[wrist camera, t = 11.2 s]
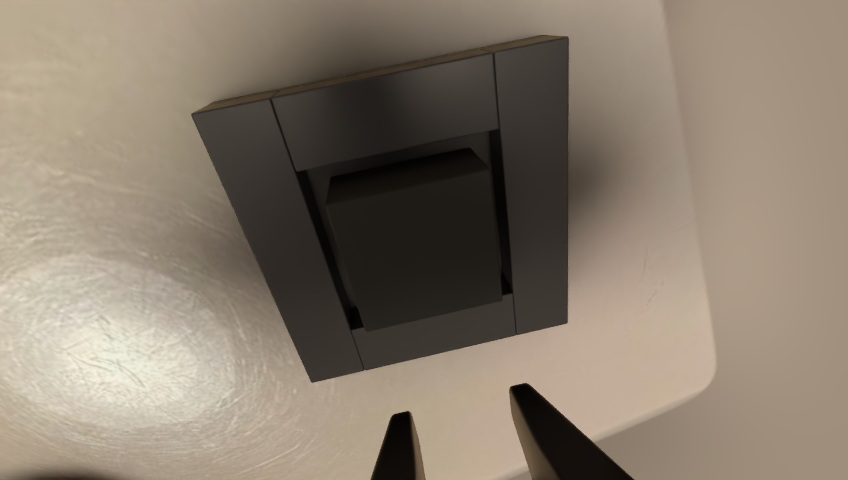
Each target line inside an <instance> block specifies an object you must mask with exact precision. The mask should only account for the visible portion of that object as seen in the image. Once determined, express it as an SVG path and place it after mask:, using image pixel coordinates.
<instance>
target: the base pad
mask: <svg viewBox="0 0 848 480" xmlns="http://www.w3.org/2000/svg"><path fill="white" fill-rule="evenodd" d="M568 63H569V38H568V37H567V36H548V35H540V36H536V37H531V38H526V39H521V40H516V41H511V42H506V43H501V44H496V45H491V46H487V47H482V48H477V49H472V50H467V51H462V52H457V53H452V54H447V55H443V56H438V57H433V58H428V59H423V60H418V61H413V62H408V63H403V64H399V65H394V66H389V67H384V68H379V69H374V70H369V71H364V72H359V73H354V74H350V75H345V76H340V77H335V78H330V79H325V80H320V81H315V82H310V83H306V84H301V85H296V86H291V87H286V88H281V89H276V90H271V91H266V92H262V93H257V94H252V95H247V96H242V97H237V98H232V99H227V100H222V101H218V102H213V103H211V104H209V105H207V106H205V107H203V108H202V109H200V110H198V111H196V112H194V113H192V114H191V115H192V118H193V120H194V122H195V125H196V127H197V129H198V131H199V134H200V136H201V138H202V140H203V142H204V145H205V147H206V149H207V151H208V154H209V156H210V158H211V160H212V162H213V165H214V167H215V169H216V171H217V174H218V176H219V178H220V180H221V182H222V185H223V187H224V189H225V191H226V194H227V196H228V198H229V200H230V202H231V205H232V207H233V209H234V211H235V214H236V216H237V218H238V220H239V223H240V225H241V227H242V229H243V231H244V234H245V236H246V238H247V240H248V243H249V245H250V247H251V249H252V251H253V254H254V256H255V258H256V260H257V263H258V265H259V267H260V269H261V271H262V274H263V276H264V278H265V280H266V283H267V285H268V287H269V289H270V292H271V294H272V296H273V298H274V300H275V303H276V305H277V307H278V309H279V312H280V314H281V316H282V318H283V320H284V323H285V325H286V327H287V329H288V332H289V334H290V336H291V338H292V340H293V343H294V345H295V347H296V349H297V352H298V354H299V356H300V358H301V360H302V363H303V365H304V367H305V369H306V372H307V374H308V376H309V378H310V381H311V382H312V383H313V382H317V381H322V380H326V379H330V378H335V377H339V376H343V375H347V374H352V373H356V372H360V371H364V369H365V370H370V369H374V368H378V367H382V366H387V365H391V364H395V363H400V362H404V361H408V360H412V359H417V358H421V357H425V356H430V355H434V354H438V353H442V352H447V351H451V350H455V349H460V348H464V347H468V346H472V345H477V344H481V343H485V342H490V341H494V340H498V339H502V338H507V337H511V336H515V335H516V334H517V335H519V334H524V333H528V332H532V331H536V330H541V329H545V328H549V327H554V326H558V325H562V324H566V323H568ZM465 148H471V149H472V150H473V151H474V152H475V153H476V154H477V156H478V157H479V158H480V159H481V160H482V161H483V162H484V163H485V165H486V166H487V167H488V168H489V169H490V171H491V180H492V191H493V201H494V212H495V222H496V233H497V244H498V254H499V265H500V275H501V286H502V296H503V300H502V301H501V302H496V303H492V304H488V305H483V306H479V307H475V308H470V309H466V310H461V311H457V312H453V313H448V314H444V315H440V316H435V317H431V318H426V319H422V320H418V321H413V322H409V323H405V324H400V325H396V326H391V327H387V328H383V329H378V330H374V331H370V332H366V331H365V329H364V326H363V323H362V320H361V317H360V314H359V311H358V307H357V304H356V301H355V298H354V295H353V292H352V289H351V286H350V283H349V280H348V276H347V273H346V270H345V267H344V264H343V261H342V258H341V255H340V252H339V249H338V245H337V242H336V239H335V236H334V233H333V230H332V227H331V224H330V221H329V218H328V214H327V211H326V208H325V203H326V198H327V193H328V188H329V182H330V178H331V177H334V176H338V175H343V174H348V173H352V172H357V171H362V170H367V169H371V168H376V167H381V166H385V165H390V164H395V163H399V162H404V161H409V160H414V159H418V158H423V157H428V156H432V155H437V154H442V153H447V152H451V151H456V150H461V149H465Z"/></svg>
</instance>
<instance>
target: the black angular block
mask: <svg viewBox="0 0 848 480" xmlns="http://www.w3.org/2000/svg"><path fill="white" fill-rule="evenodd" d="M325 208H326V211H327V214H328V218H329V221H330V224H331V227H332V230H333V233H334V236H335V239H336V242H337V245H338V249H339V252H340V255H341V258H342V261H343V264H344V267H345V270H346V273H347V276H348V280H349V283H350V286H351V289H352V292H353V295H354V298H355V301H356V304H357V307H358V311H359V314H360V317H361V320H362V323H363V326H364V329H365V331H366V332H370V331H374V330H378V329H383V328H387V327H391V326H396V325H400V324H405V323H409V322H413V321H418V320H422V319H426V318H431V317H435V316H440V315H444V314H448V313H453V312H457V311H461V310H466V309H470V308H475V307H479V306H483V305H488V304H492V303H496V302H501V301H502V300H503V296H502V286H501V275H500V265H499V254H498V244H497V233H496V222H495V212H494V201H493V191H492V180H491V171H490V169H489V168H488V167H487V166H486V165H485V163H484V162H483V161H482V160H481V159H480V158H479V157H478V156H477V154H476V153H475V152H474V151H473V150H472V149H471V148H465V149H461V150H456V151H451V152H447V153H442V154H437V155H432V156H428V157H423V158H418V159H414V160H409V161H404V162H399V163H395V164H390V165H385V166H381V167H376V168H371V169H367V170H362V171H357V172H352V173H348V174H343V175H338V176H334V177H331V178H330V182H329V188H328V193H327V198H326V203H325Z"/></svg>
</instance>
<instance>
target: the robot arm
mask: <svg viewBox="0 0 848 480" xmlns="http://www.w3.org/2000/svg"><path fill="white" fill-rule="evenodd" d="M509 394H510V404H511V413H512V417H513V421H514V424H515V427H516V430H517V433H518V437H519V440H520V443H521V446H522V449H523V452H524V455H525V458H526V461H527V464H528V467H529V470H530V473H531V476H532V479H533V480H634V479H633V478H632V477H631V476H630V475H628V474H627V473H626V472H625V471H624V470H623V469H622V468H621V467H620V466H618V465H617V464H616V463H615V462H614V461H613V460H612V459H611V458H610V457H609V456H607V455H606V454H605V453H604V452H603V451H602V450H601V449H600V448H599V447H598V446H596V445H595V444H594V443H593V442H592V441H591V440H590V439H589V438H588V437H587V436H586V435H584V434H583V433H582V432H581V431H580V430H579V429H578V428H577V427H576V426H575V425H573V424H572V423H571V422H570V421H569V420H568V419H567V418H566V417H565V416H564V415H562V414H561V413H560V412H559V411H558V410H557V409H556V408H555V407H554V406H553V405H551V404H550V403H549V402H548V401H547V400H546V399H545V398H544V397H543V396H542V395H540V394H539V393H538V392H537V391H536V390H535V389H534V388H533V387H532V386H530V385H529V384H527V383H523V384H519V385H515V386H511V387H510V389H509ZM371 480H426V479H425V473H424V467H423V461H422V456H421V450H420V444H419V439H418V435H417V431H416V428H415V424H414V421H413V417H412V414H411V412H409V411H406V412H402V413H397V414H394V415H393V416H392V417H391V419H390V422H389V425H388V428H387V431H386V434H385V437H384V440H383V443H382V446H381V449H380V452H379V455H378V458H377V462H376V465H375V468H374V471H373V474H372V477H371Z"/></svg>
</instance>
